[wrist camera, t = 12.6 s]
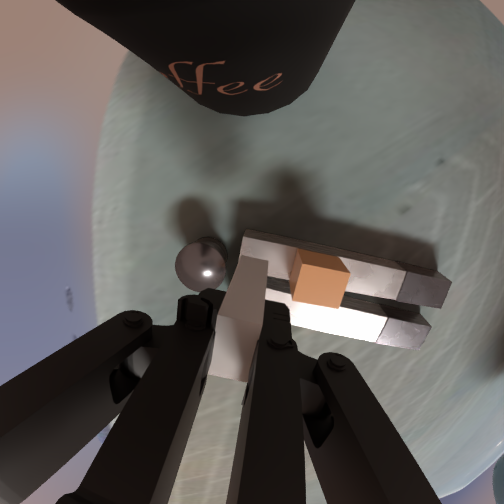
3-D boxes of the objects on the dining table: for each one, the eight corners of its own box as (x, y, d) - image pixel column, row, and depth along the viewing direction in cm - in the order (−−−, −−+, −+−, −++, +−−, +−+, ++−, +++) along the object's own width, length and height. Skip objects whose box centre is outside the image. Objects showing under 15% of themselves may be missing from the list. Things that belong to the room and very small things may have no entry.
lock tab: (289, 280, 19) (292, 300, 16) (297, 248, 18) (302, 263, 16) (329, 288, 19) (338, 308, 16) (339, 257, 18) (350, 273, 16)
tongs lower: (184, 271, 22) (173, 285, 19) (191, 217, 21) (179, 225, 18) (420, 315, 22) (433, 331, 19) (437, 271, 21) (454, 283, 18)
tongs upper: (231, 294, 23) (226, 309, 20) (238, 266, 22) (234, 279, 19) (408, 335, 23) (418, 350, 20) (420, 313, 22) (431, 327, 20)
